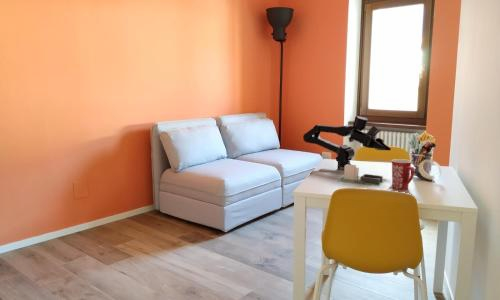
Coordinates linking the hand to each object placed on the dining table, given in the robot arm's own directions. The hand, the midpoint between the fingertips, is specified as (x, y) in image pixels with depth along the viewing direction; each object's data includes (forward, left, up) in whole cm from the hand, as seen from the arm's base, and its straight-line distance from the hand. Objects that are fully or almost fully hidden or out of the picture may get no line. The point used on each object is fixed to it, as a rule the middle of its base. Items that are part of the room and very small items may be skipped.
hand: (387, 148), depth 212 cm
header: (-4, -15, -15) cm, 21 cm away
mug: (+11, -16, -16) cm, 25 cm away
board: (-8, -15, -16) cm, 23 cm away
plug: (-15, -15, -15) cm, 25 cm away
